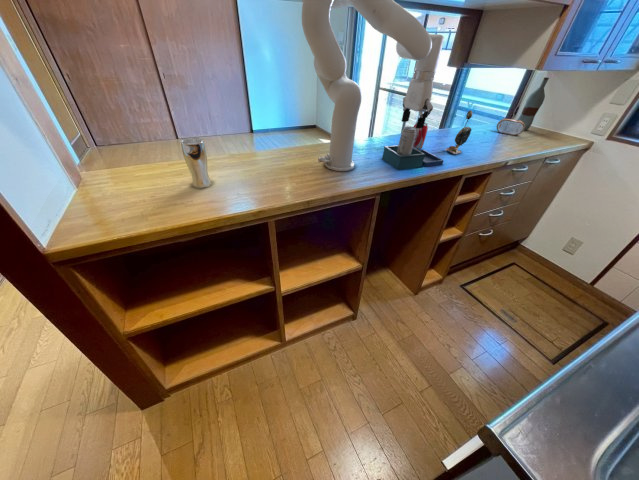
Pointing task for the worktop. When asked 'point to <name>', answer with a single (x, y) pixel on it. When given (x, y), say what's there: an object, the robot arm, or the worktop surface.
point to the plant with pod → (461, 136)
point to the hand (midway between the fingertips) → (411, 124)
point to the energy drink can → (406, 141)
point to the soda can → (420, 136)
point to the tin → (510, 126)
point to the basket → (403, 158)
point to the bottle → (533, 105)
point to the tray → (431, 159)
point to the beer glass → (196, 161)
